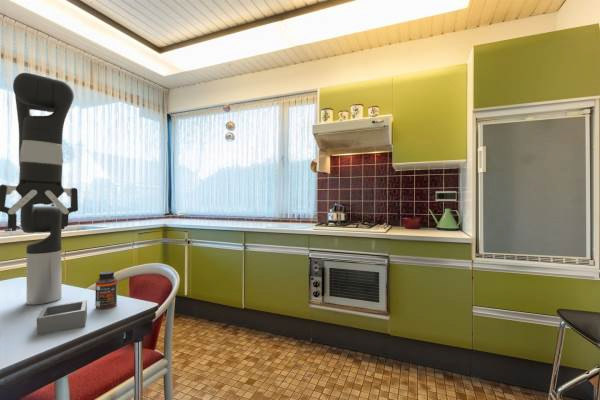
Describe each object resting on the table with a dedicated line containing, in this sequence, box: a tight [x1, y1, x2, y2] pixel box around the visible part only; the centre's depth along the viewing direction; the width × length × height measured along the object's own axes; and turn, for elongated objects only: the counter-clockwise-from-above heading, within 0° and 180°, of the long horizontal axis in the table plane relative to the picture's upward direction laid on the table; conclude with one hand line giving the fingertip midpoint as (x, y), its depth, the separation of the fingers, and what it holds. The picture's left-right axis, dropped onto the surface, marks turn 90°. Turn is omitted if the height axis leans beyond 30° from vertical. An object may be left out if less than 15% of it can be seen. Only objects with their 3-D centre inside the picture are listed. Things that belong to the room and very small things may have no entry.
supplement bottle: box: [94, 270, 118, 310], centre depth 95 cm, size 6×6×11 cm
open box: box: [36, 299, 88, 337], centre depth 81 cm, size 10×10×4 cm
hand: (38, 229), depth 69 cm, fingers open, 8 cm apart
